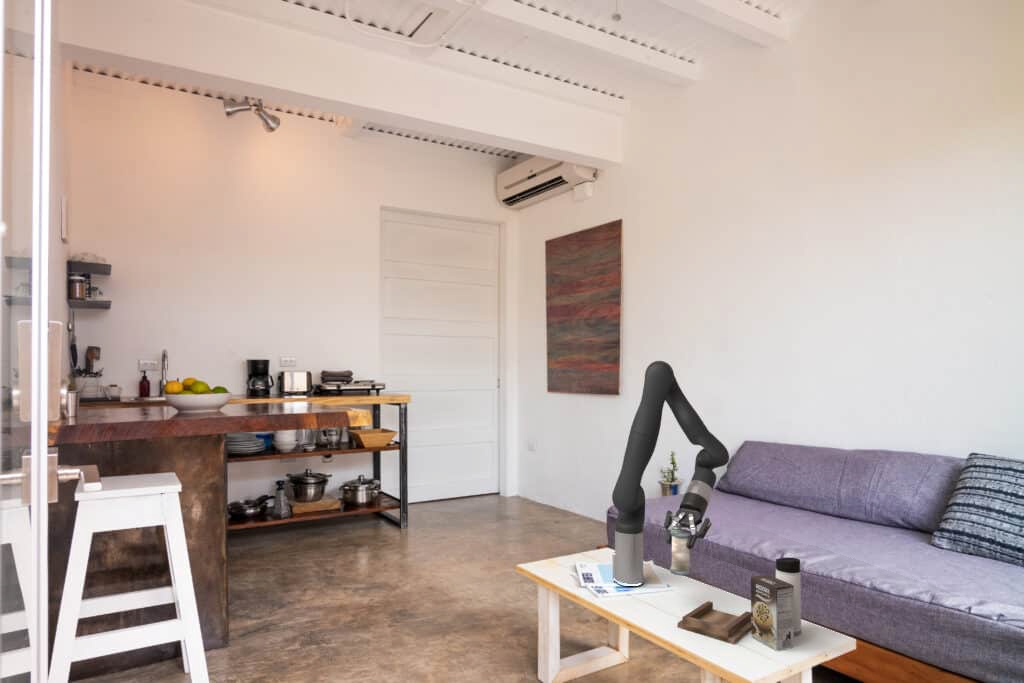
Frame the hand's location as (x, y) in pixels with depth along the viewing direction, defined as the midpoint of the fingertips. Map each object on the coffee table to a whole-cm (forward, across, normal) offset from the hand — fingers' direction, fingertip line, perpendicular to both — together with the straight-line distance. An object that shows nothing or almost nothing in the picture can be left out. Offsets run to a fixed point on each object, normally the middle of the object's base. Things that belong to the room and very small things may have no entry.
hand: (678, 545), depth 189 cm
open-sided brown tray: (+15, +13, +12) cm, 23 cm away
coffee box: (+15, +28, +12) cm, 34 cm away
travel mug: (+8, +30, +19) cm, 36 cm away
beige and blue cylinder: (+5, 0, +7) cm, 8 cm away
